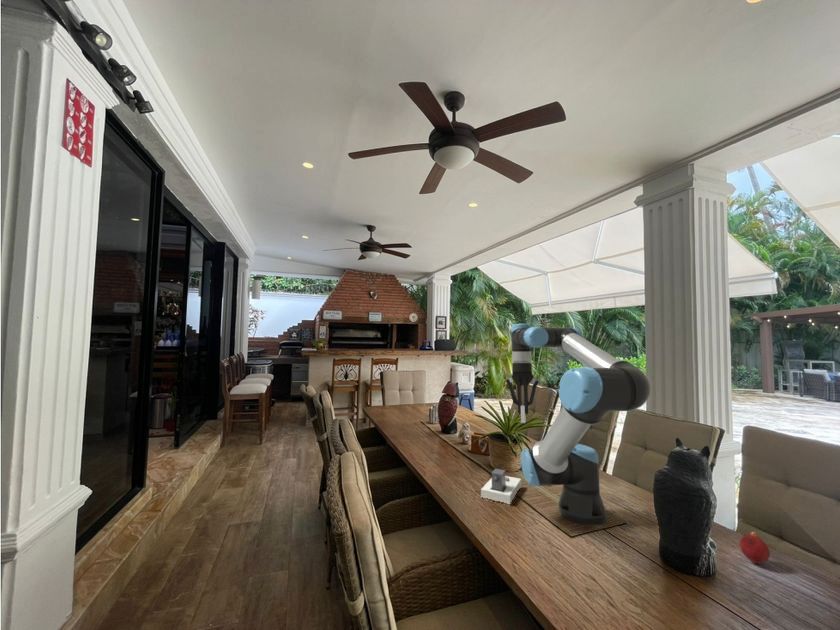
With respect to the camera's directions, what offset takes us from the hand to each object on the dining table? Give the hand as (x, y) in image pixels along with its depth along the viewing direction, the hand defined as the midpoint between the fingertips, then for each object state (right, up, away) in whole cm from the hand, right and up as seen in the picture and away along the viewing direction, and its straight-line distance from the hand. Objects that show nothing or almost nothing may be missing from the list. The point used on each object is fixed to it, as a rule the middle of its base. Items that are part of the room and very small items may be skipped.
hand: (523, 422), depth 137 cm
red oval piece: (+49, -25, -44) cm, 70 cm away
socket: (-9, -28, 0) cm, 29 cm away
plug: (-11, -27, -3) cm, 29 cm away
